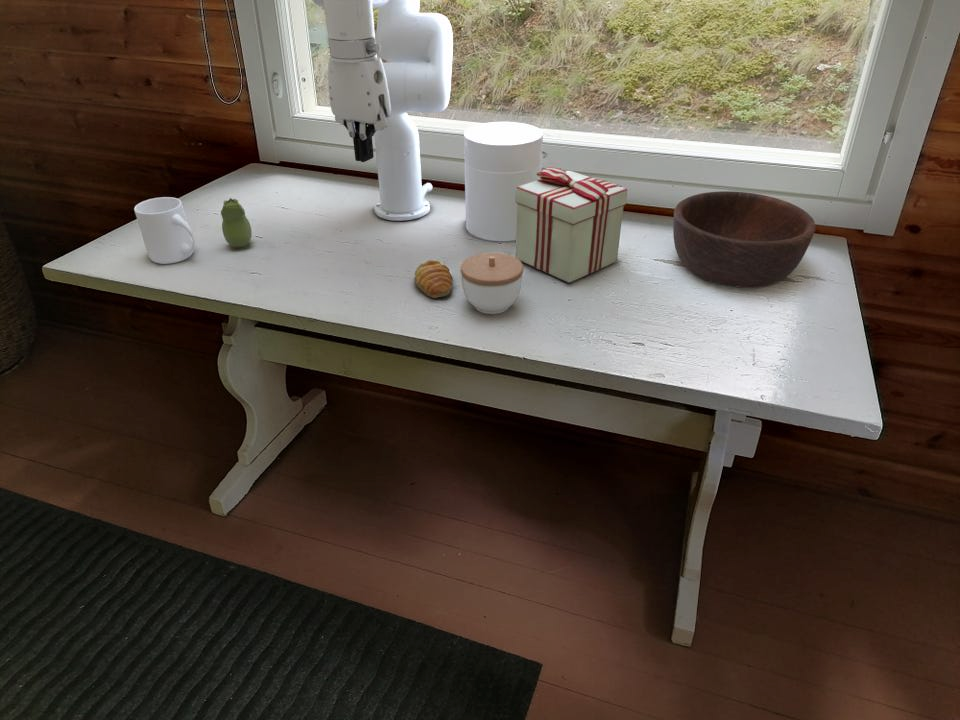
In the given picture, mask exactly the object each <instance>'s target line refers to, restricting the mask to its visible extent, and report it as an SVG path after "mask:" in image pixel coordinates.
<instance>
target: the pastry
mask: <svg viewBox="0 0 960 720" xmlns="http://www.w3.org/2000/svg"><path fill="white" fill-rule="evenodd" d="M453 281H454V277H453V275H452V273H451V271H450V268H449V267H448V265H446V264H443V263H442V262H441V261H439V260H436V259H431V260H427V261H425V262H423V263H420V264H419V265H418V267H417V268H416V270H415V272H414V282H415V284H416V287H418V289H420V291H421V292H422V293H423V294H425V295H426V296H428V297H430V298H432V299H436V298H442V297H446V296H449V294H450V293H451V292H452V287H453Z"/></svg>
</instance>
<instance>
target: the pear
mask: <svg viewBox="0 0 960 720" xmlns="http://www.w3.org/2000/svg"><path fill="white" fill-rule="evenodd" d="M220 215H221V218H222V223H221V230H222V235H223V237H224V240H225V241H226V243H227V244H228V245H229V246H231V247H232V248H238V249H239V248H244V247H246V246H247V245H249V244H250V242H251V240H252V237H253V235H252V233H253V232H252V231H253V230H252V226H251V223H250V221H249V219H248V218H247V216H246V212H245V209H244V207H243V205H241V204H240V203H239V201H238V199H236V198H231V197H229V199H227V200H223V205H222V209H221V210H220Z"/></svg>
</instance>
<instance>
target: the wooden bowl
mask: <svg viewBox="0 0 960 720" xmlns="http://www.w3.org/2000/svg"><path fill="white" fill-rule="evenodd" d="M672 219H673V220H672V221H673V225H672V226H673V230H672V231H673V243H674V248H675V252H676V254H677V255H676V256H677V257H678V259H679V261H680V263H681V264H682V266H684V268H685V269H686V270H687V271H688V272H690V273H691V274H692V275H694V276H696V277H698V278H700V279H702V280H704V281H708V282H711V283H714V284H718V285H721V286H727V287H733V288H744V289H745V288H746V289H747V288H750V289H751V288H761V287H767V286H771V285H774V284H777V283H779V282H781V281H783V280H784V279H785V278H787V277H788V276H789V275H790V274H792V273H793V271H794V270H795V269H796V268H797V267H798V265H799V264H800V262H801V261H802V260H803V258H804V256H805V255H806V252H807V251H808V248H809V246H810V244H811V242H812V239H813V238H814V234H815V231H816V222H815V220H814V218H813V217H812V216H811V215H810V214H809V213H808V212H807V211H806V210H804V209H802V208H801V207H799V206H797V205H795V204H794V203H791V202H789V201H786V200H784V199H780V198H777V197H773V196H769V195H765V194H759V193H753V192H745V191H734V190H733V191H729V190H727V191H724V190H723V191H722V190H721V191H709V192H702V193H698V194H694V195H691V196H688V197H686V198H684V199H683V200H681V201H679V202H678V204H676V206H675V208H674V209H673V218H672Z"/></svg>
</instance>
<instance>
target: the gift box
mask: <svg viewBox="0 0 960 720" xmlns="http://www.w3.org/2000/svg"><path fill="white" fill-rule="evenodd" d="M537 176H540V177H539V178H540V179H539V180H537V181H534V182H531V183H528V184H525V185H522V186H518V187H516V199H515V202H516V203H517V234H516V240H515V258H517V259H519V260H520V261H521V263H524V264H526V265H529V266H530V267H532V268H534V269H535V270H538V271H541V272H544V273H546V274H548V275H550V276H552V277H555V278H556V279H559V280H561V281H563V282H565V283H568V284H569V283H572V282H574V281H577V280H579V279H581V278H583V277H585V276H587V275H590V274H592V273H594V272H597V271H599V270H601V269H604V268H605V267H608V266H609V265H612V264H614V263H616V262H617V261H618V255H619V247H620V239H621V230H622V223H623V213H624V206H626V205H627V198H628V188H625V187H623V186H622V185H620V184H618V183H617V184H615V183H612V182H610V181H608V180H601V179H599V178H595V177H591V176H589V175H588V176H587V175H584V174H582V173H579V172H575V171H572V170H564V169H562V168H561V167H560V168H559V167H553V166H550V167H546V168H544V169H542V170H541V172H538V173H537Z"/></svg>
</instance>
